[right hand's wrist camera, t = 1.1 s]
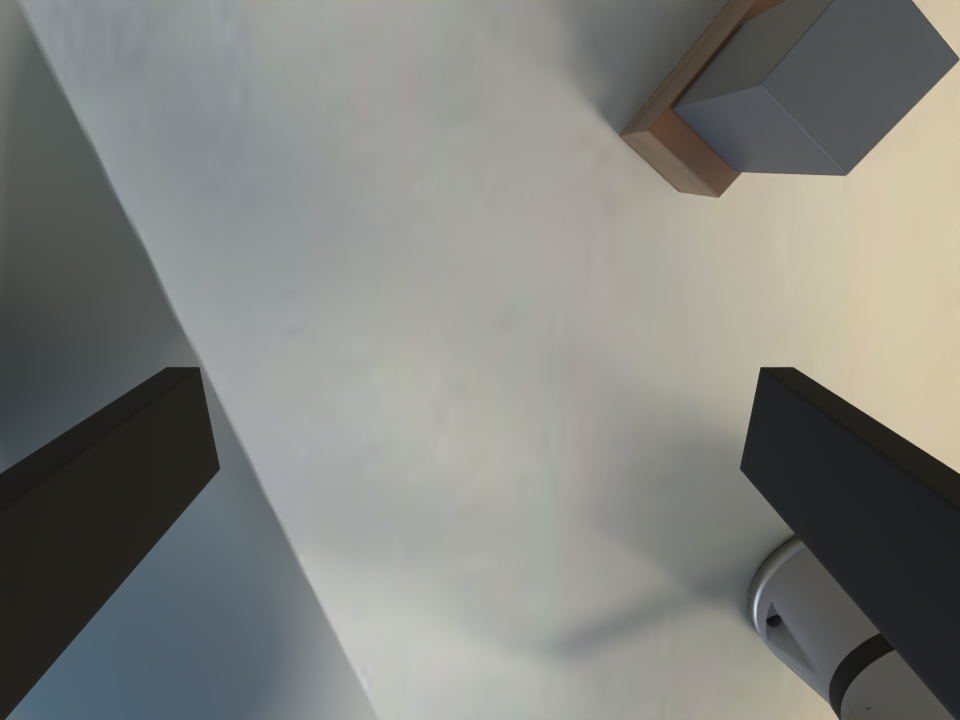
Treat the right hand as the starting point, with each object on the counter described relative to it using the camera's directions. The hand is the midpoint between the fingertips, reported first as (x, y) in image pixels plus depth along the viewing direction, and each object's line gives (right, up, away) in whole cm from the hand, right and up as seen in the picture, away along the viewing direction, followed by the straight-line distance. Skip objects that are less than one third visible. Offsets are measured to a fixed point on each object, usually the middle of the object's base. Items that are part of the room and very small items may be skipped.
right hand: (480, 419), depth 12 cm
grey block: (+14, +15, +15) cm, 25 cm away
